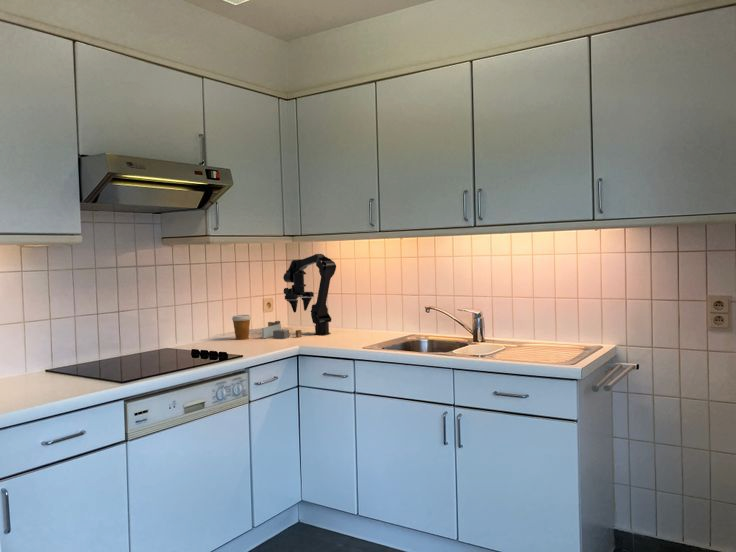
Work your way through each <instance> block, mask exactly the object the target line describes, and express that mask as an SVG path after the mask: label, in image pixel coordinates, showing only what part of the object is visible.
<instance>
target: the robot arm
mask: <svg viewBox="0 0 736 552" xmlns="http://www.w3.org/2000/svg"><path fill="white" fill-rule="evenodd" d="M314 264H315V266H316V267H317V268H318V273H319V275H320V280H319V287H318V292H317V296H316V302H315V303H314V304H312V305H311V310H310V312H311V313H310V316H311V320H312V323H313V324H314V329H315V330H314V333H313V334H314V336H315V335H316V336H327V335H330V334H331V332H330V324H329V323H331V322H332V317H331V315H330V314H329V312H328V311H329V308H328V305H327V300H328V299H327V298H328V294H329V288H330V283H331V278H333V276H334V275H335V272H336V269H337V264H336V263H335V261H333V260H332V259H331V258H329V257H327V256H325V255H324V254H323V253H315V254H313V255H310V256H308V257H307V256H306V257H305V258H303V259H292V260H291V262H290V264H289V267H288V269H287V270H285V271H286V272H285V273H283V274H284V275H283V277H282V278H283V280H284V282H286V283H293V284H292V285H291V287H290V288H288V287H284V288H283V294H284V300H286V301H287V302H288V303H289V305H290V306H291V308H292V311H293V313H297V310H298V309H297V308H298V302H299V298H300V299H301V300H302V304H303V311H304V312H305V311H307V310H308V307H309V305H310V302H312V299H313V298H314V297H315V296H314V295H315V293H314V292H313V291H305V287H306V286H307V283H306V284H305V275H307V272H306V271H305V269H307V268H308V267H309V266H312V265H314Z"/></svg>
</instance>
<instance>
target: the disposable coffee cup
mask: <svg viewBox="0 0 736 552" xmlns="http://www.w3.org/2000/svg"><path fill="white" fill-rule="evenodd" d="M231 320H232V324H233V328H234V329H233V330H234V334H235V339H236V341H237V340H238V341H242V340H243V341H244V340H248V339H249V335H250V323H251V315H250V314H237V315H232V318H231Z"/></svg>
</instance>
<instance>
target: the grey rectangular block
mask: <svg viewBox="0 0 736 552" xmlns="http://www.w3.org/2000/svg"><path fill="white" fill-rule="evenodd" d="M272 337H273V339H279V340H280V339H282V340H285V339H289V337H290V330H289V329H281V330H275V331H273V336H272Z"/></svg>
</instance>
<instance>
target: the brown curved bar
mask: <svg viewBox="0 0 736 552" xmlns="http://www.w3.org/2000/svg"><path fill="white" fill-rule="evenodd" d="M277 324H281V321H280V320H276V321H275V320H274V321H267V327H269V326H273V325H277ZM302 336H303V335H302V330H301V329H298V330H296V329H295V337H296V338H302Z"/></svg>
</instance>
